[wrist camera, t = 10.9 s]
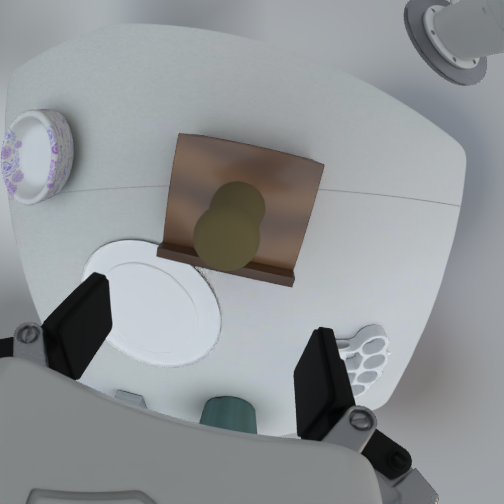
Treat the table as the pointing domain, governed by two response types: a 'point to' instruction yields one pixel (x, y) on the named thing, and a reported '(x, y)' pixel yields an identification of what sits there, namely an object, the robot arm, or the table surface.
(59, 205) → the table surface
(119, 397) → the white packaging box
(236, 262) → the olive pawn figure
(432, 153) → the table surface
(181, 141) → the brown wooden box
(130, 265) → the plate
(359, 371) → the knuckle duster
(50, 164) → the paper bowls
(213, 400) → the flower pot
